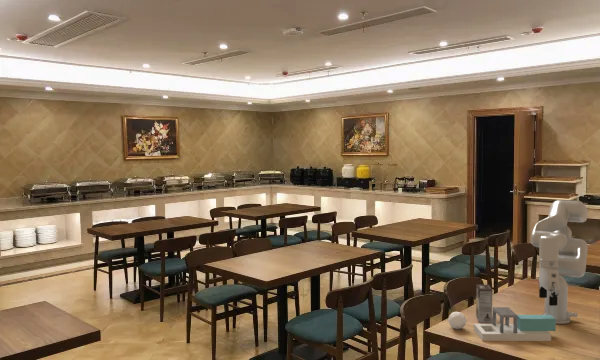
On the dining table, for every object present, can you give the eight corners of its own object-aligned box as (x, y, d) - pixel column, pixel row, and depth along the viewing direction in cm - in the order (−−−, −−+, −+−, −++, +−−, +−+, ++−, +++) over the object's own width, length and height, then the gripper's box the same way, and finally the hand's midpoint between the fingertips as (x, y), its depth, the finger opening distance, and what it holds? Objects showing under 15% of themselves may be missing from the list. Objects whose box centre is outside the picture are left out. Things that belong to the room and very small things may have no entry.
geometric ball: (459, 335, 221) (461, 326, 216) (444, 325, 226) (445, 316, 221) (468, 324, 225) (470, 314, 220) (453, 315, 230) (454, 305, 225)
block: (550, 326, 216) (550, 314, 215) (555, 331, 211) (555, 318, 210) (515, 326, 216) (516, 314, 216) (520, 330, 211) (520, 318, 211)
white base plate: (538, 330, 219) (538, 324, 219) (550, 341, 207) (551, 334, 207) (473, 330, 221) (473, 323, 221) (482, 340, 209) (482, 333, 209)
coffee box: (475, 315, 240) (475, 283, 238) (489, 316, 238) (489, 284, 237) (478, 322, 231) (478, 289, 229) (492, 323, 229) (493, 289, 228)
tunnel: (508, 324, 219) (508, 307, 219) (517, 333, 209) (517, 315, 208) (492, 324, 220) (492, 307, 219) (500, 333, 209) (500, 315, 209)
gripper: (567, 268, 202) (566, 308, 204) (548, 258, 220) (547, 294, 221) (549, 269, 203) (548, 308, 205) (531, 258, 220) (530, 294, 222)
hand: (548, 301), depth 213 cm, fingers open, 9 cm apart
